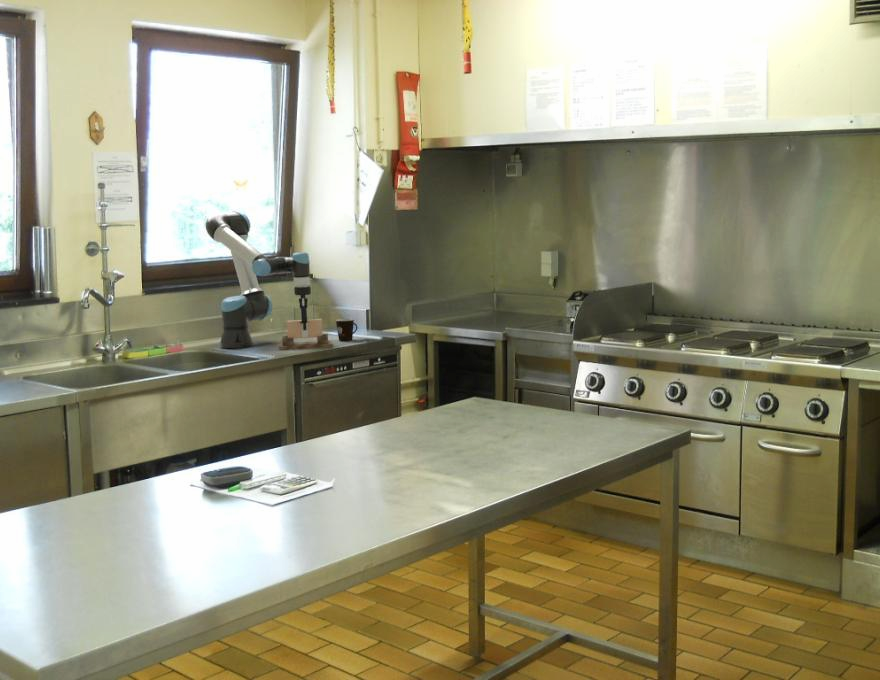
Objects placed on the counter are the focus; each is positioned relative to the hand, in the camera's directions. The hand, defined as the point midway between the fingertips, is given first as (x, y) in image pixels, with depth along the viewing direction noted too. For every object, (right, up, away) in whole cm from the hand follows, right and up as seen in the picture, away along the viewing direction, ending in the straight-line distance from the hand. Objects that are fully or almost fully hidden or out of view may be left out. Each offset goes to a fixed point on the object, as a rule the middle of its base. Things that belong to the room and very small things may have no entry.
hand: (305, 336), depth 478 cm
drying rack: (0, -5, +1) cm, 5 cm away
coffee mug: (+18, -2, +15) cm, 23 cm away
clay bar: (0, 0, 0) cm, 0 cm away
